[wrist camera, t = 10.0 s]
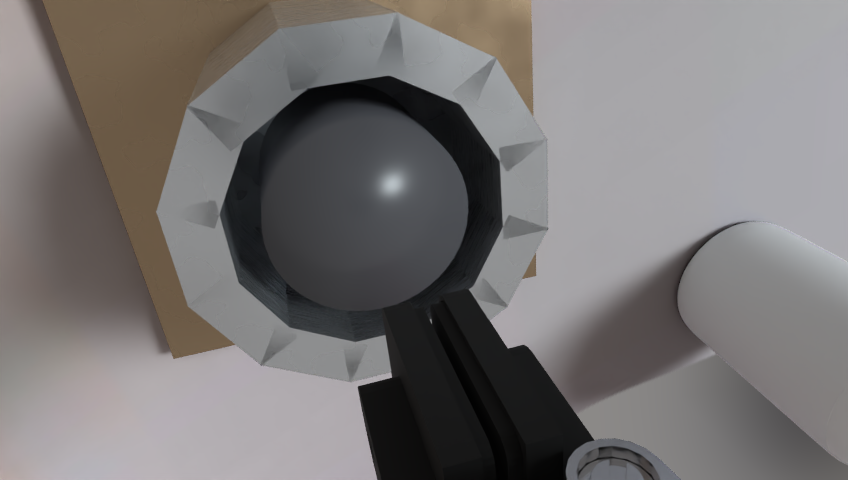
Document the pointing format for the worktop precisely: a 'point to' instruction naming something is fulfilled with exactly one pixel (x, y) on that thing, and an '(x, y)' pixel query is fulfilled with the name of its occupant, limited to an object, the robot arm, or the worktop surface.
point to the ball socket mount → (245, 129)
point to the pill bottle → (776, 322)
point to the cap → (358, 199)
